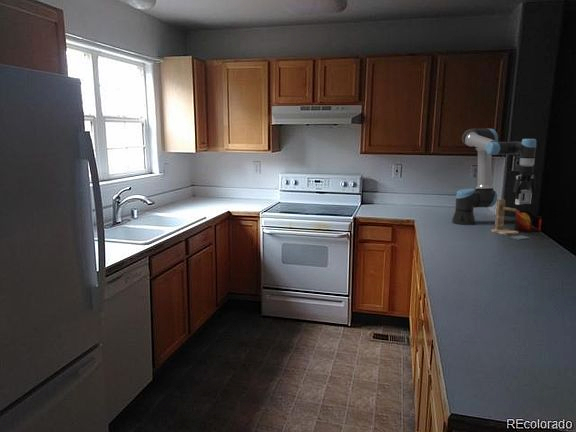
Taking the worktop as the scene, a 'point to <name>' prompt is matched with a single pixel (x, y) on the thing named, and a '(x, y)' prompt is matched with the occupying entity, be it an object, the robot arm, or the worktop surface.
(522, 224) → the mug
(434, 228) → the worktop surface
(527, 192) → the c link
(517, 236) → the pad
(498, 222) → the stand
